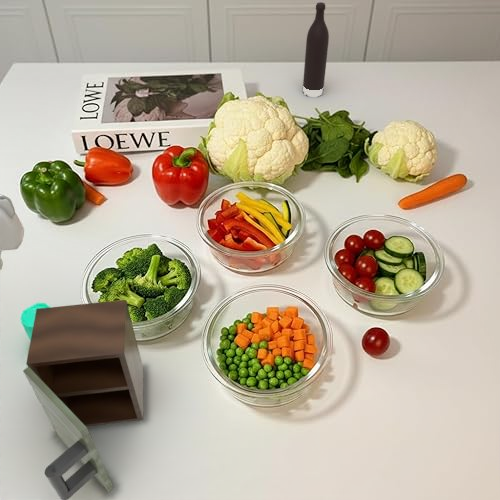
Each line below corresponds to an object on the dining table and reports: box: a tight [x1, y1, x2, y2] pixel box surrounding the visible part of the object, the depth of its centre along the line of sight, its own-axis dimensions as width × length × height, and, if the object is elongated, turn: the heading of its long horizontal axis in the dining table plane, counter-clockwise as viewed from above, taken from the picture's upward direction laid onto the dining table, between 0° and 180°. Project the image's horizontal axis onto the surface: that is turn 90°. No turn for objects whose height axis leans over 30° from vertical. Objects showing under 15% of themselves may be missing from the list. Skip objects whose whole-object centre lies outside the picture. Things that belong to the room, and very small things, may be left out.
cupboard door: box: [22, 366, 114, 500], centre depth 86 cm, size 7×15×22 cm, turn 48°
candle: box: [20, 302, 51, 342], centre depth 109 cm, size 6×6×12 cm
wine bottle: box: [302, 2, 330, 90], centre depth 176 cm, size 7×7×30 cm
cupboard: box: [26, 299, 145, 428], centre depth 96 cm, size 11×15×22 cm
